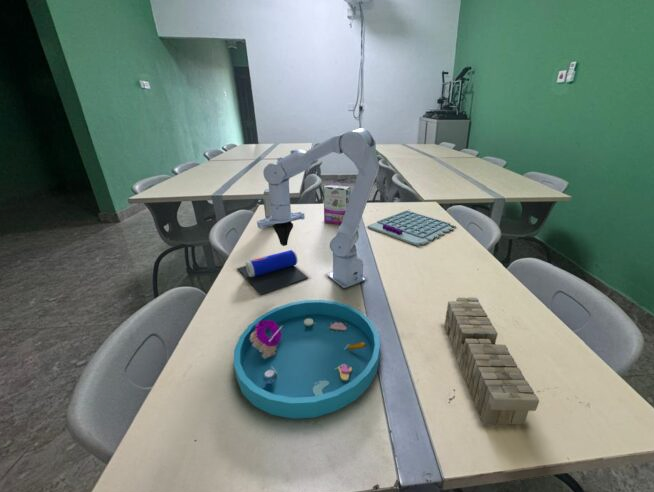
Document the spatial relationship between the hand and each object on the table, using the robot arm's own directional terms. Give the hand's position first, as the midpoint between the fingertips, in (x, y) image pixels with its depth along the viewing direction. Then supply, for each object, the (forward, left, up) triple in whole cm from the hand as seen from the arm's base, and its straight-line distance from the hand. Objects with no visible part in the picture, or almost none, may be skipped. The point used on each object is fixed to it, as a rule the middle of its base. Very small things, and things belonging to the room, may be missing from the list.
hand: (283, 244), depth 99 cm
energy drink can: (+38, -13, -9) cm, 41 cm away
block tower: (-62, -13, -9) cm, 64 cm away
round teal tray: (-38, +13, -9) cm, 41 cm away
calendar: (0, -60, -9) cm, 61 cm away
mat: (-1, +5, -8) cm, 10 cm away
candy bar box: (+24, -37, -9) cm, 45 cm away
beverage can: (0, -4, -5) cm, 6 cm away
